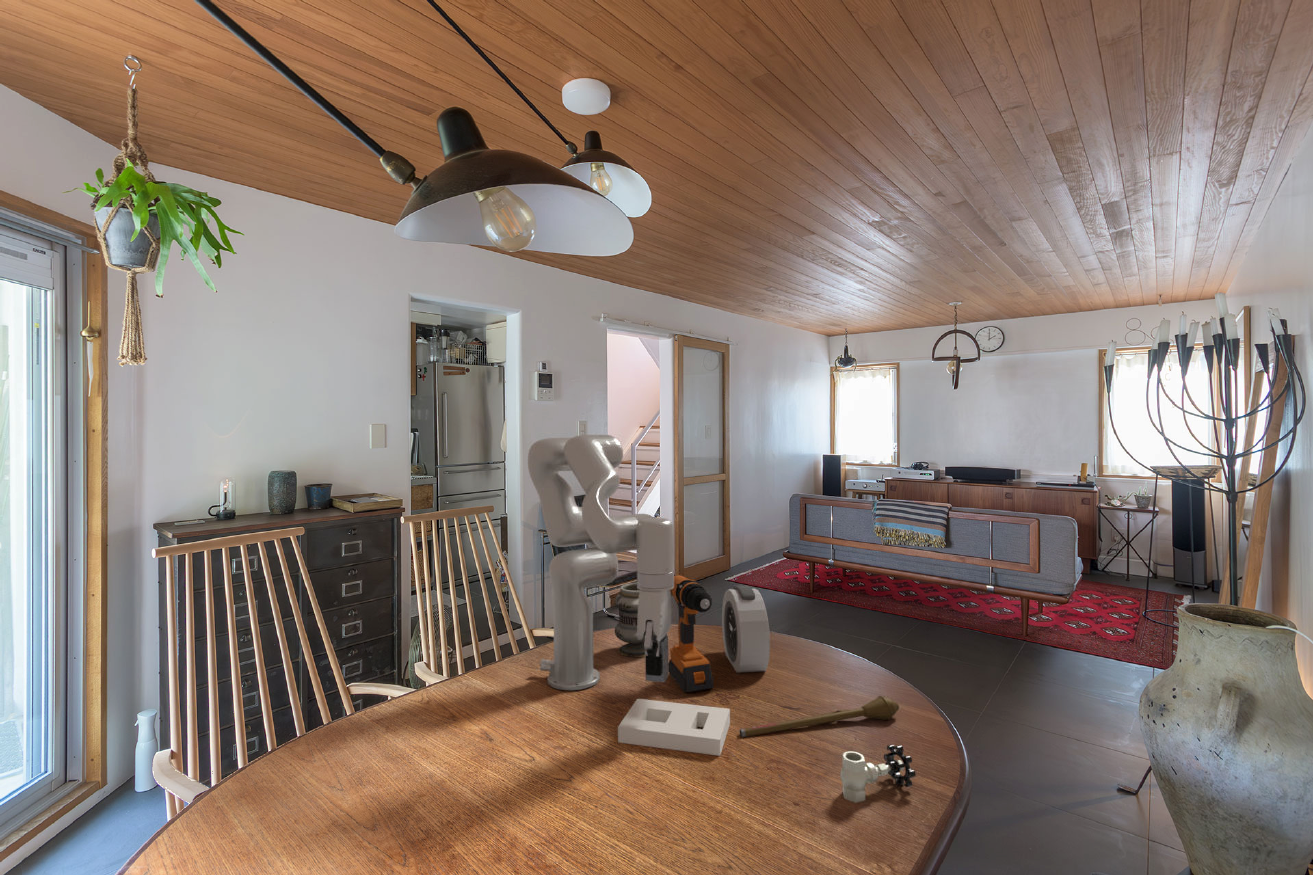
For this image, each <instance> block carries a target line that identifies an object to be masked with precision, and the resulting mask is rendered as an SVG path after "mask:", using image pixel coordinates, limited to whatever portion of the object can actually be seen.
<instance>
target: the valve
mask: <svg viewBox="0 0 1313 875" xmlns="http://www.w3.org/2000/svg"><path fill="white" fill-rule="evenodd" d="M886 751H890V752H888V753H884V754H883V760H884V761H885V763H879V764H875V765H874V764H873V763H871V762H866V760H865V757H864V755H863V754H862V753H859V752H857V751H849V750H848V751H845V752H842V762H841V763H842V766H841V769H840V774H839V775H840V779H841V783H842V795H843V799H845V800H848V801H850V802H852V803H855V804H856V803H860V802H864V801H866V790H865V787H866V786H867V784H873V783H877V781H878V778H879V777H883V776H887V775H890V777H891V778H892V779H893V780H894V781H895V782H894V783H895V784H896V785H897V786H902V785H904V787H906V788H910V787H912V786H913V781H912V780H911V779H912V778H915V777H916V776H917V774H916V771H915V770H914V769H911V766H910V764H912V762H913V758H912V757H911V755H905V754H904V751H905V750H904V747H903V746H902V744H899V745H894V744H888V745H887V746H886ZM895 756H898V757H899V758H900V759H895ZM904 769H905V770H904ZM902 771H905V772H904V775H903V774H901V773H900V772H902Z"/></svg>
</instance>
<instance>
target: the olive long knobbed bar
mask: <svg viewBox="0 0 1313 875" xmlns="http://www.w3.org/2000/svg"><path fill="white" fill-rule="evenodd" d="M899 710H900V706H899V703H898V702H897V701H896V700H893V699H891V698H888V697H887V696H885V695H883V696H881V695H879V696H877V697H876V698H875V699H873V700H871V701H869V702H868V703H866V704H864V705H862V706H861V707H860V708H853V709H843V710H842V709H841V710H835V711H830V712H827V713H822V714H820V715H814V716H808V717H803V718H796V719H791V720H785V721H781V722H775V723H770V724H769V723H768V724H763V725H757V726H752V727H751V726H750V727H746V728H740V729H739V731H738V732H739V735H740V736H741V738H746V737H747V738H748V737H753V736H759V735H765V734H771V733H775V732H781V731H787V730H792V729H798V728H804V727H809V726H814V725H820V724H821V725H822V724H826V723H831V722H832V723H833V722H836V721H842V720H848V719H852V718H853V719H854V718H859V717H865V718H870V719H878V720H884V721H889V720H892V718H893V716H895V715H896V713H897V712H899Z"/></svg>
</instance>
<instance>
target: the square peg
mask: <svg viewBox="0 0 1313 875" xmlns="http://www.w3.org/2000/svg"><path fill="white" fill-rule="evenodd" d="M656 638H657V637H654V636H653V639H656ZM653 645H655V646H656V643H653ZM660 655H662V675H661V676H653V675H647V674H646V673H645V681H646V682H658V683H665V682H666V680H667V679H668V677H669V676H670V674H669V666H668V663H669V636H668V635H667V636H664V638H663V639H662V640H661V641H660ZM644 657H645V658H644V659H645V660H644V662H645V672H646V655H645V656H644Z"/></svg>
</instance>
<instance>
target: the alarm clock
mask: <svg viewBox="0 0 1313 875" xmlns="http://www.w3.org/2000/svg"><path fill="white" fill-rule="evenodd" d="M764 601H765V600H764V599H763V597H762V594H761V593H760V591H759V590H758V589H756V588H752V587H751V586H750V585H747V584H746V585H734V586H733V588H729V589H726V590H725V593H724V595H723V598H722V607H721V630H722V642H723V646H724V648H723V649H724V655H725V656H726V657H727V659H728V660H729V662H730V664H731V665H732V667H733V669H734V670H735V672H736V673H737V674H738V673H752V672H753V673H754V672H766V671H767V669H768V665H769V662H770V655H771V654H770V653H771V652H770V651H771V640H770V626H769V625H770V624H769V619H768V613H767V609H766V608H767V607H766V605H765V602H764Z"/></svg>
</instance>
